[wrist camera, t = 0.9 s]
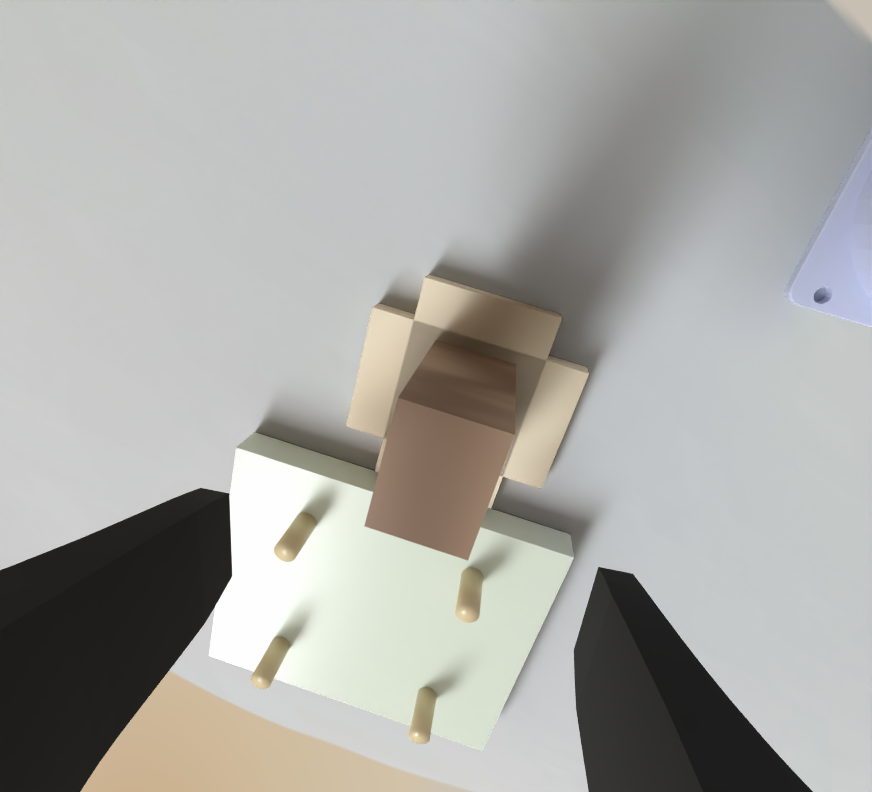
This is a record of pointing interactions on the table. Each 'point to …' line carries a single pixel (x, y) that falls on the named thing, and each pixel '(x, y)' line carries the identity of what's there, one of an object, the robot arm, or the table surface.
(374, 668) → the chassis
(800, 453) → the table surface
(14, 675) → the robot arm
